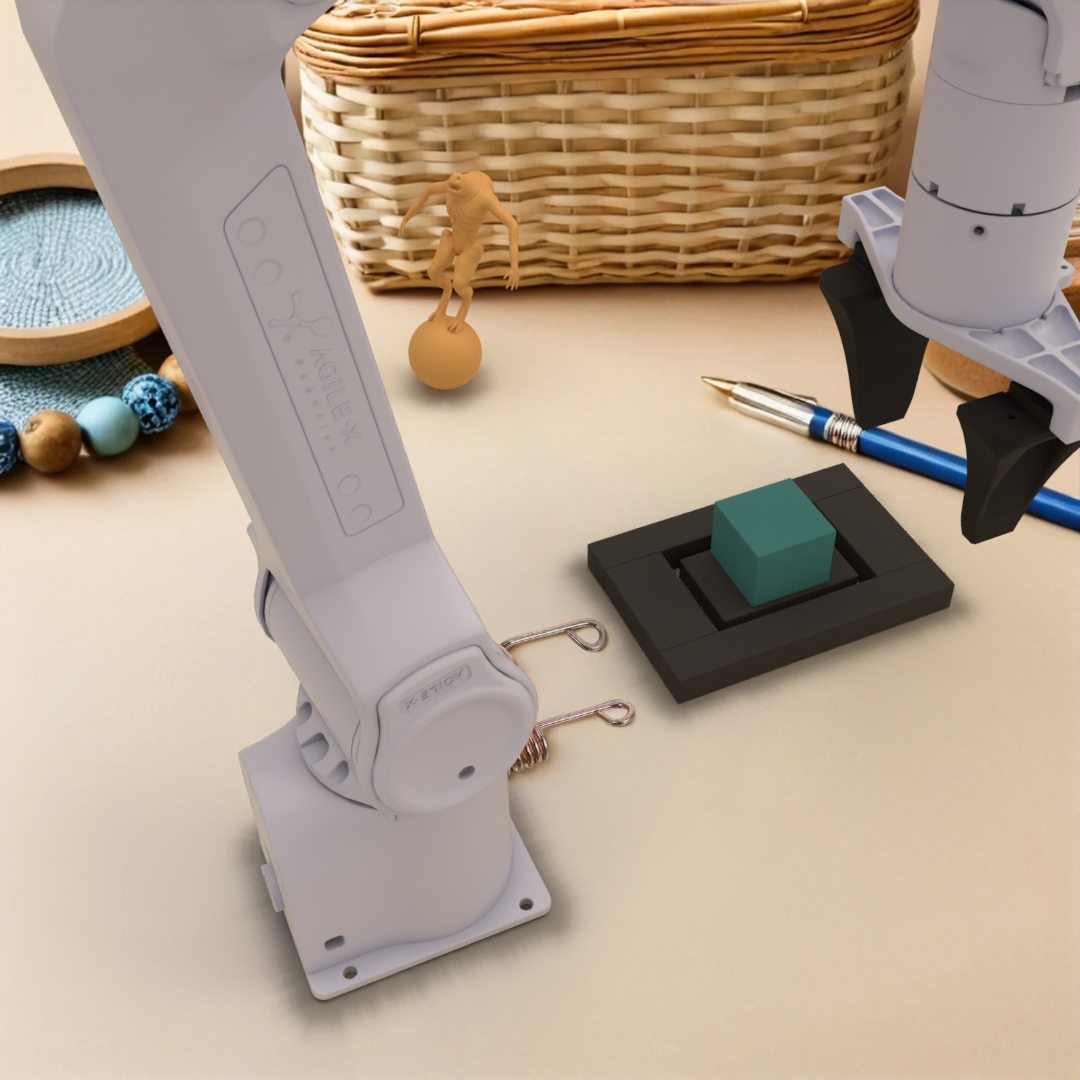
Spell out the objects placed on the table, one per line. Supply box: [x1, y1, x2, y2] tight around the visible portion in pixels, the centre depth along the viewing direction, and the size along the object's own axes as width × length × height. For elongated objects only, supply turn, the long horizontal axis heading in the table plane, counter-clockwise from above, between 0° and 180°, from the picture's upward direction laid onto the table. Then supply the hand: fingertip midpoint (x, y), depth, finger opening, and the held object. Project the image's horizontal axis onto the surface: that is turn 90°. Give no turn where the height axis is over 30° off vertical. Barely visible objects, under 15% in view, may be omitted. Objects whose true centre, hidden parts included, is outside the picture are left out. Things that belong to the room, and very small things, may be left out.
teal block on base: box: [678, 477, 859, 632], centre depth 66 cm, size 7×4×4 cm, turn 113°
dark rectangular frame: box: [587, 462, 956, 704], centre depth 67 cm, size 14×9×2 cm
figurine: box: [397, 170, 520, 391], centre depth 76 cm, size 8×6×12 cm
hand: (931, 474), depth 59 cm, fingers open, 7 cm apart
